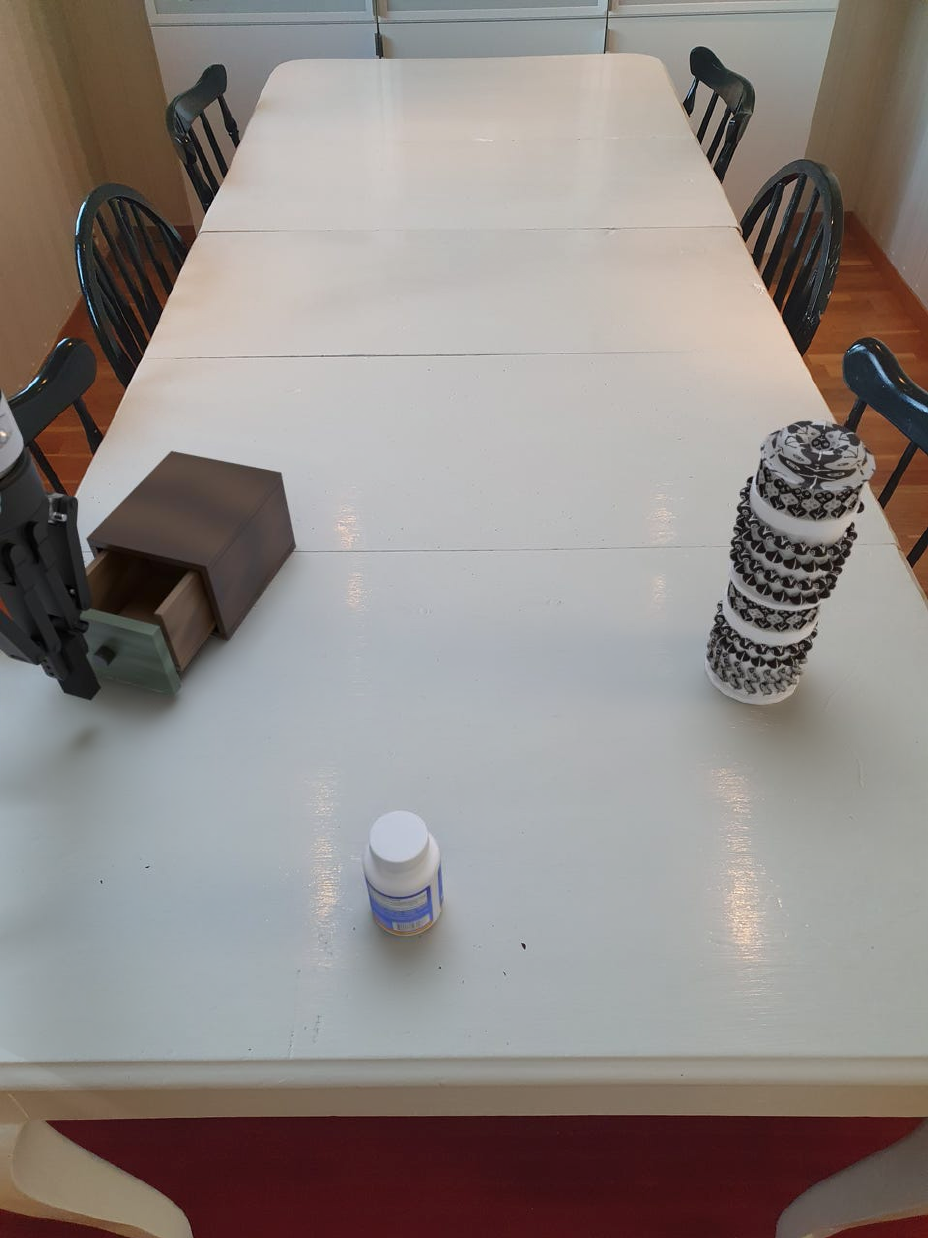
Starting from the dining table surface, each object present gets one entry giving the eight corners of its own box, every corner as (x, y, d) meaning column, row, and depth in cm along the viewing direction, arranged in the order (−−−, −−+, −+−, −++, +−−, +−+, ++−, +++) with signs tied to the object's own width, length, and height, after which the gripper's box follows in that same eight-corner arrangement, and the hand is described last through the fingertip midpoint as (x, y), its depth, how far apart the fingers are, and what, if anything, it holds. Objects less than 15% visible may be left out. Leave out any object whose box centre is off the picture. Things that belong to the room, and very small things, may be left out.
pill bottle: (395, 860, 70) (385, 788, 63) (456, 890, 68) (453, 819, 61) (356, 918, 67) (341, 849, 60) (420, 952, 65) (411, 884, 58)
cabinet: (228, 640, 87) (206, 566, 80) (116, 612, 90) (85, 538, 83) (296, 546, 97) (281, 472, 90) (193, 523, 100) (171, 450, 93)
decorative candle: (710, 622, 87) (766, 394, 69) (809, 648, 85) (894, 417, 67) (689, 690, 81) (744, 459, 64) (795, 720, 79) (883, 488, 61)
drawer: (167, 705, 80) (143, 645, 75) (59, 676, 83) (29, 615, 77) (247, 596, 90) (231, 535, 84) (148, 572, 93) (127, 512, 87)
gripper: (-55, 533, 55) (73, 761, 72) (75, 419, 64) (162, 647, 81) (-150, 510, 57) (-4, 737, 74) (-12, 403, 66) (91, 628, 83)
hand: (82, 690), depth 77 cm, fingers closed
